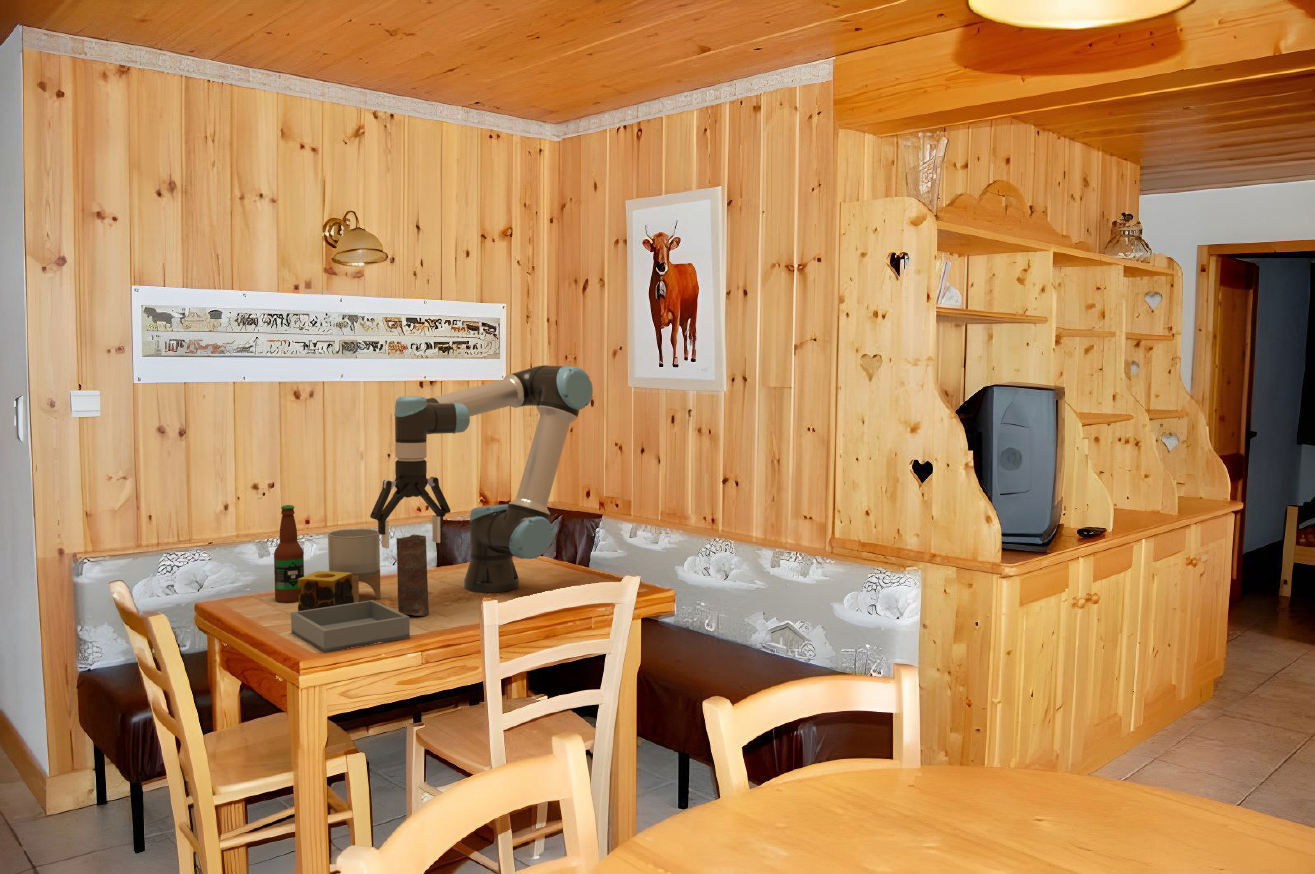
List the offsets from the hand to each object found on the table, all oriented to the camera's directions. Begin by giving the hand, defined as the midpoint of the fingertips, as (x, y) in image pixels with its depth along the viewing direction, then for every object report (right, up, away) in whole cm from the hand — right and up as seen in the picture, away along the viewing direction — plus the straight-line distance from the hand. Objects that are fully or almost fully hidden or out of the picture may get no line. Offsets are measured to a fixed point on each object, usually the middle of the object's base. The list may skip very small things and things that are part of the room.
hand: (411, 544), depth 259 cm
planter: (-19, -16, +17) cm, 30 cm away
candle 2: (0, -18, +2) cm, 18 cm away
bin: (-10, -19, -18) cm, 28 cm away
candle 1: (-21, -18, +1) cm, 28 cm away
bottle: (-35, -16, +15) cm, 42 cm away
